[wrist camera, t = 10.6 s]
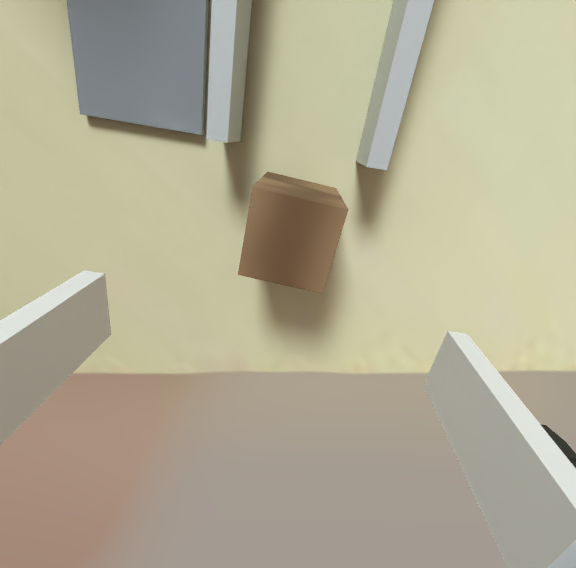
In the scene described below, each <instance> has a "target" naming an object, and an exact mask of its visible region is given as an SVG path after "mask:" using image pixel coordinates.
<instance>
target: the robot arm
mask: <svg viewBox="0 0 576 568" xmlns="http://www.w3.org/2000/svg"><path fill="white" fill-rule="evenodd" d="M110 335H111V328H110V319H109V309H108V299H107V290H106V280H105V274H103V273H97V272H91V271H85V270H84V271H83V272H81V273H79V274H78V275H76V276H74V277H72V278H71V279H69V280H67V281H66V282H64V283H62V284H61V285H59V286H57V287H56V288H54V289H52V290H51V291H49V292H47V293H46V294H44V295H42V296H41V297H39V298H37V299H36V300H34V301H32V302H31V303H29V304H27V305H25V306H24V307H22V308H20V309H19V310H17V311H15V312H14V313H12V314H10V315H9V316H7V317H5V318H4V319H2V320H0V445H1V444H2V443H3V442H4V441H5V440H6V439H7V438H8V437H9V436H10V435H11V434H12V433H13V432H14V431H15V430H16V429H17V428H18V427H19V425H21V424H22V423H23V422H24V421H25V420H26V419H27V418H28V417H29V416H30V415H31V414H32V413H33V412H34V411H35V409H37V408H38V407H39V406H40V405H41V404H42V403H43V402H44V401H45V400H46V399H47V398H48V397H49V396H50V395H51V394H52V393H53V392H54V391H55V390H56V389H57V388H58V387H59V386H60V385H61V384H62V383H63V382H64V381H65V380H66V379H67V378H68V377H69V376H70V375H71V374H72V373H73V372H74V371H75V370H76V369H77V368H78V367H79V366H80V365H81V364H82V363H83V362H84V361H85V360H86V359H87V358H88V357H89V356H90V355H91V354H92V353H93V352H94V351H95V350H96V349H97V348H98V347H99V346H100V345H101V344H102V343H103V342H104V341H105V340H106V339H107V338H108V337H109V336H110ZM423 386H424V388H425V390H426V393H427V395H428V397H429V399H430V401H431V404H432V406H433V408H434V410H435V412H436V414H437V416H438V419H439V421H440V423H441V425H442V427H443V429H444V432H445V434H446V436H447V438H448V440H449V442H450V445H451V447H452V449H453V451H454V453H455V455H456V458H457V459H458V462H459V464H460V466H461V468H462V471H463V473H464V475H465V477H466V479H467V481H468V483H469V486H470V488H471V490H472V492H473V494H474V497H475V498H476V501H477V503H478V505H479V507H480V510H481V512H482V514H483V516H484V518H485V520H486V523H487V525H488V527H489V529H490V531H491V533H492V535H493V538H494V540H495V542H496V544H497V546H498V548H499V551H500V553H501V555H502V557H503V559H504V562H505V564H506V566H507V568H576V453H575V452H574V451H573V450H572V449H571V448H570V446H569V445H568V444H567V443H566V442H565V441H564V440H563V439H562V438H560V437H559V436H558V435H557V434H556V433H555V432H553V431H552V430H551V429H550V428H548V427H547V426H546V425H541V424H539V422H538V421H537V420H536V419H535V417H534V416H533V415H532V414H531V413H530V411H529V410H528V409H527V407H526V406H525V405H524V404H523V403H522V401H521V400H520V399H519V398H518V396H517V395H516V394H515V393H514V391H513V390H512V389H511V388H510V386H509V385H508V384H507V383H506V381H505V380H504V379H503V378H502V376H501V375H500V374H499V373H498V371H497V370H496V369H495V368H494V367H493V365H492V364H491V363H490V362H489V360H488V359H487V358H486V357H485V355H484V354H483V353H482V352H481V350H480V349H479V348H478V347H477V345H476V344H475V343H474V342H473V341H472V339H471V338H470V337H469V336H468V334H463V333H457V332H451V331H448V332H447V334H446V336H445V338H444V340H443V343H442V345H441V347H440V349H439V352H438V354H437V356H436V358H435V360H434V363H433V365H432V367H431V369H430V372H429V374H428V376H427V378H426V381H425V383H424V385H423Z"/></svg>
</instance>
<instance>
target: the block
mask: <svg viewBox="0 0 576 568" xmlns="http://www.w3.org/2000/svg"><path fill="white" fill-rule="evenodd" d="M347 212H348V208H347V206H346V205H345V203H344V201H343V199H342V198H341V196H340V194H339V192H338V191H337V189H336V188H333V187H329V186H324V185H320V184H316V183H312V182H308V181H304V180H300V179H295V178H291V177H287V176H283V175H279V174H275V173H271V172H267V173H266V174H265V175H264V176H263V177H262V178H261V179H260V180H259V181H258V182H257V183H256V184H255V185H254V186H253V188H252V194H251V200H250V206H249V212H248V218H247V224H246V230H245V236H244V242H243V248H242V254H241V259H240V265H239V271H238V275H242V276H246V277H251V278H255V279H260V280H264V281H268V282H273V283H277V284H282V285H286V286H291V287H295V288H300V289H304V290H309V291H313V292H318V293H323V290H324V287H325V283H326V280H327V277H328V274H329V270H330V267H331V264H332V261H333V257H334V254H335V251H336V248H337V244H338V241H339V238H340V235H341V231H342V228H343V225H344V222H345V218H346V215H347Z"/></svg>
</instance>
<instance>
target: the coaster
mask: <svg viewBox="0 0 576 568" xmlns="http://www.w3.org/2000/svg"><path fill="white" fill-rule="evenodd" d="M67 6H68V14H69V23H70V32H71V40H72V49H73V57H74V66H75V74H76V83H77V92H78V100H79V109H80V114H83V115H88V116H94V117H100V118H106V119H112V120H117V121H123V122H129V123H135V124H140V125H146V126H152V127H158V128H164V129H169V130H175V131H181V132H187V133H192V134H198V135H204V123H205V96H206V68H207V40H208V13H209V0H67Z"/></svg>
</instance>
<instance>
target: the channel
mask: <svg viewBox="0 0 576 568" xmlns="http://www.w3.org/2000/svg"><path fill="white" fill-rule="evenodd" d="M433 3H434V0H394V2H393V7H392V11H391V15H390V19H389V24H388V28H387V32H386V36H385V41H384V45H383V49H382V53H381V58H380V62H379V66H378V70H377V75H376V79H375V83H374V87H373V92H372V96H371V100H370V104H369V109H368V113H367V117H366V121H365V126H364V130H363V134H362V138H361V143H360V147H359V151H358V155H357V160H356V162H358V163H360V164H362V165H364V166H366V167H370V168H376V169H382V170H387V168H388V165H389V161H390V158H391V154H392V150H393V147H394V143H395V140H396V136H397V133H398V129H399V125H400V122H401V118H402V115H403V111H404V107H405V104H406V100H407V97H408V93H409V89H410V86H411V82H412V79H413V75H414V72H415V68H416V64H417V61H418V57H419V54H420V50H421V46H422V43H423V39H424V36H425V32H426V28H427V25H428V21H429V18H430V14H431V11H432V7H433ZM251 9H252V0H212V9H211V35H210V60H209V86H208V111H207V136H206V139H208V140H214V141H220V142H226V143H230V142H239V141H241V130H242V118H243V106H244V94H245V82H246V70H247V58H248V46H249V34H250V22H251Z"/></svg>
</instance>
